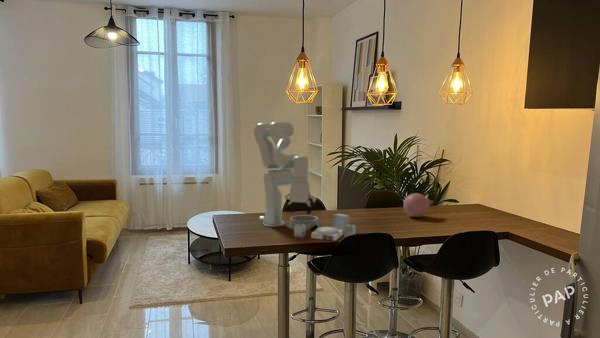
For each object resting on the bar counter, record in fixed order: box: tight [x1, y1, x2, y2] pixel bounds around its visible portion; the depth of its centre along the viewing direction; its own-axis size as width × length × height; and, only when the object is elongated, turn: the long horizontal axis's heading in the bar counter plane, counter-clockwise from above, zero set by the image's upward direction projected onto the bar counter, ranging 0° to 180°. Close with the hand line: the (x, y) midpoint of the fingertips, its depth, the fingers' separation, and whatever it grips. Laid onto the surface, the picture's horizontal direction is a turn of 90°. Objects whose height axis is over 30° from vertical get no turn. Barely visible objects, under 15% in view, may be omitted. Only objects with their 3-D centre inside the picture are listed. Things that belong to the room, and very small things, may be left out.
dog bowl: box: [288, 214, 321, 231], centre depth 241 cm, size 17×18×5 cm
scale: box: [310, 226, 344, 242], centre depth 220 cm, size 13×14×4 cm
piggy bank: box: [402, 192, 434, 218], centre depth 269 cm, size 15×20×15 cm
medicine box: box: [333, 213, 350, 233], centre depth 233 cm, size 8×4×9 cm, turn 43°
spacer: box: [343, 223, 356, 238], centre depth 220 cm, size 4×4×6 cm
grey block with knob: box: [293, 224, 307, 239], centre depth 220 cm, size 4×4×6 cm
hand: (300, 212), depth 219 cm, fingers open, 9 cm apart
